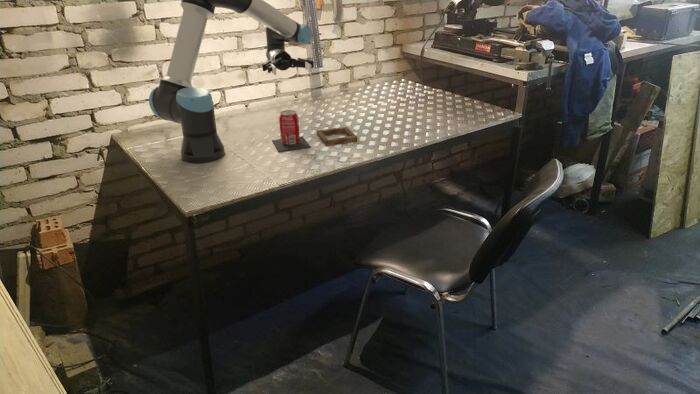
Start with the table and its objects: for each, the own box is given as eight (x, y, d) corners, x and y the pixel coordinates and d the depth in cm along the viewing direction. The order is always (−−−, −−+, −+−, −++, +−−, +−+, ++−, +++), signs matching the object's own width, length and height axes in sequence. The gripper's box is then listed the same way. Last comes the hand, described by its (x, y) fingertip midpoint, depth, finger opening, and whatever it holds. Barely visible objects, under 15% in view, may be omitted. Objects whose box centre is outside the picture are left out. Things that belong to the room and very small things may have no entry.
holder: (325, 146, 192) (325, 141, 191) (316, 135, 202) (316, 130, 202) (357, 141, 195) (357, 136, 194) (346, 131, 206) (346, 126, 205)
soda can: (291, 138, 198) (289, 108, 193) (303, 143, 194) (302, 112, 188) (277, 143, 194) (274, 112, 188) (289, 148, 189) (286, 116, 184)
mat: (278, 152, 187) (278, 151, 187) (272, 141, 197) (272, 140, 197) (310, 147, 190) (310, 146, 190) (302, 137, 201) (302, 136, 200)
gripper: (310, 66, 218) (325, 77, 199) (251, 70, 210) (260, 82, 192) (310, 48, 214) (324, 57, 196) (250, 52, 207) (259, 61, 189)
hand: (293, 69), depth 194 cm, fingers open, 13 cm apart
